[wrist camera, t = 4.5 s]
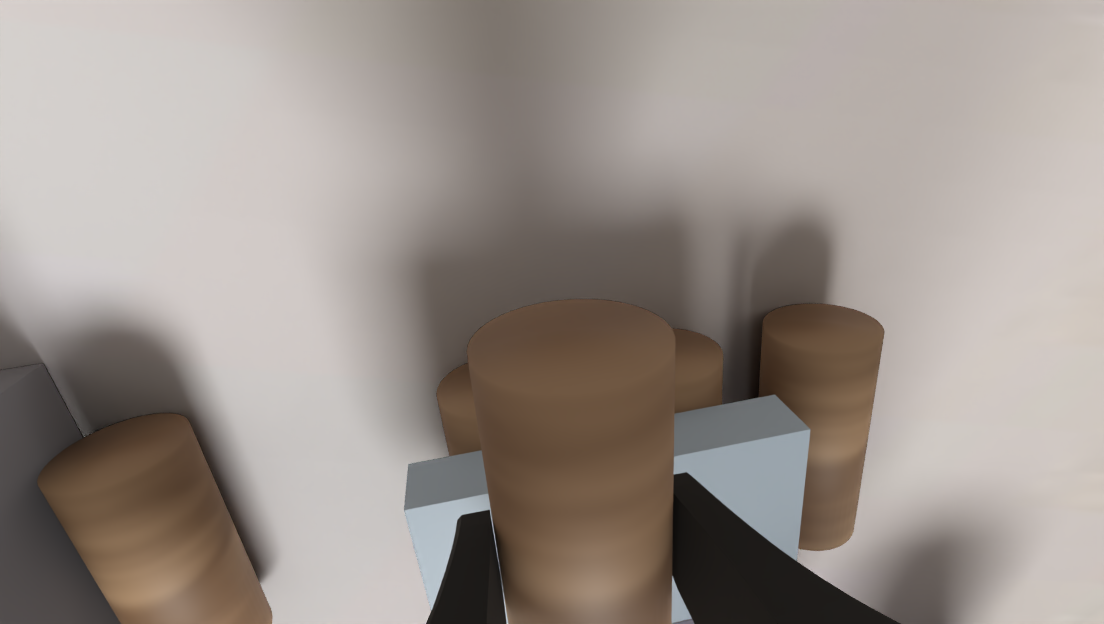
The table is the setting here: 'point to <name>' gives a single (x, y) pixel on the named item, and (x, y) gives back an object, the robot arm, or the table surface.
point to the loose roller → (579, 459)
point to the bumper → (38, 511)
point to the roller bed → (217, 551)
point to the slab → (699, 449)
